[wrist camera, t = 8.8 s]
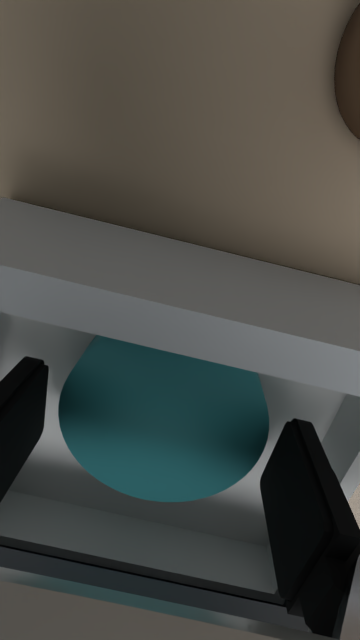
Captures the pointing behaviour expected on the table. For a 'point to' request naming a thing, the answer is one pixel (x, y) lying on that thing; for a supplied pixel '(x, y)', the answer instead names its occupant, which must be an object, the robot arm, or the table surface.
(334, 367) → the grey drawer
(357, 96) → the brown short rounded cylinder
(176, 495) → the disc
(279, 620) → the housing
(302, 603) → the robot arm
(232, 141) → the table surface
